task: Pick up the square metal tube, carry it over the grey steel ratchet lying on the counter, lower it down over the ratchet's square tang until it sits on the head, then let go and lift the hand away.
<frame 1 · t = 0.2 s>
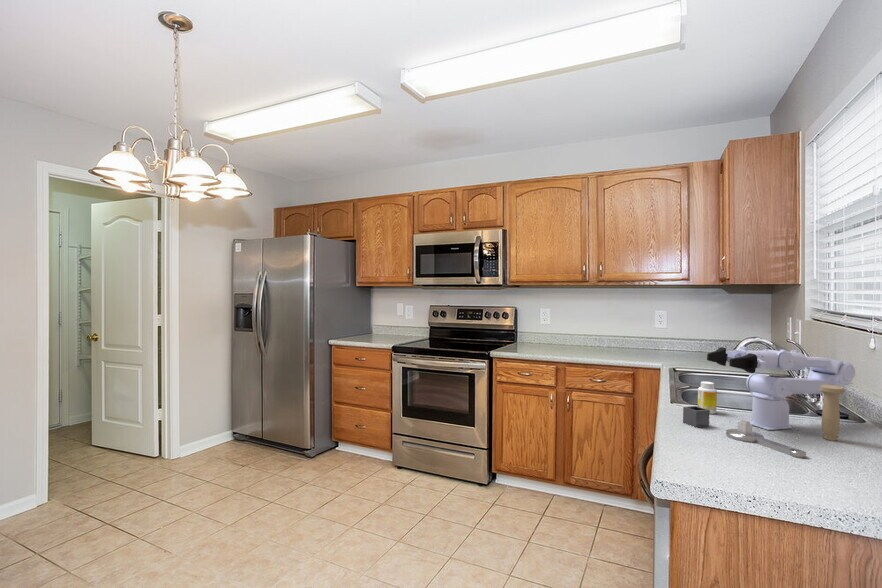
hand: (719, 359, 133), 21 cm above the countertop, tool horizontal, fingers open, 7 cm apart
handle: (830, 440, 127), on the countertop
supplement bottle: (706, 412, 154), on the countertop
ratchet: (744, 437, 127), on the countertop
square metal tube: (695, 424, 139), on the countertop
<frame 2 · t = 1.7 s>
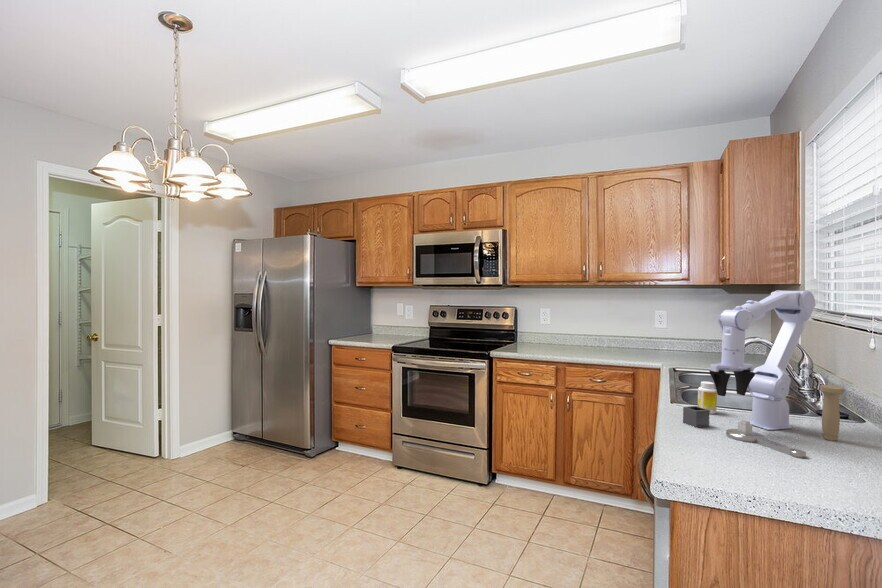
hand: (731, 395, 134), 10 cm above the countertop, tool pointing down, fingers open, 7 cm apart
nothing on the countertop moved.
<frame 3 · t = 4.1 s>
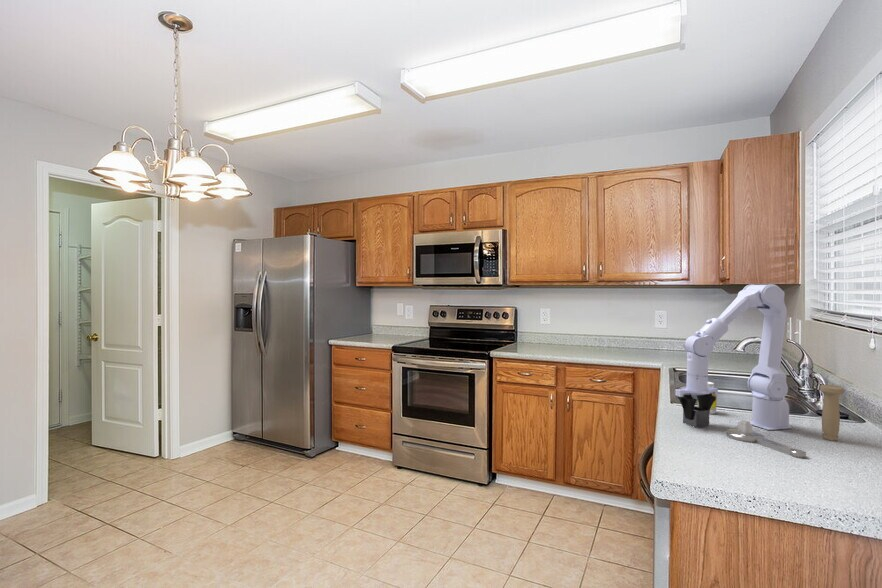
hand: (695, 418, 139), 2 cm above the countertop, tool pointing down, fingers closed on square metal tube, 5 cm apart
square metal tube: (695, 424, 139), on the countertop, touching gripper
everything else where it was.
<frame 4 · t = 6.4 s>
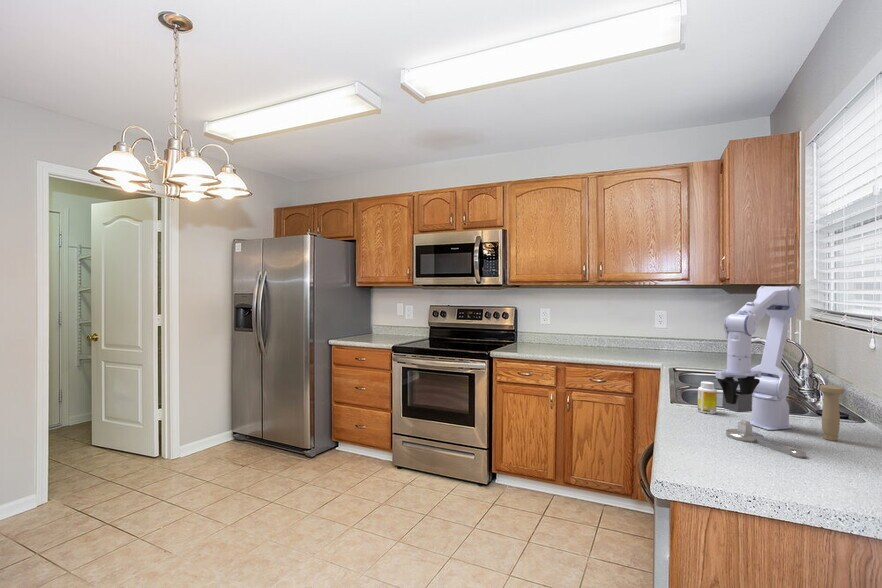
hand: (737, 402, 129), 9 cm above the countertop, tool pointing down, fingers closed on square metal tube, 5 cm apart
square metal tube: (736, 409, 129), point 7 cm above the countertop, touching gripper
everything else where it was.
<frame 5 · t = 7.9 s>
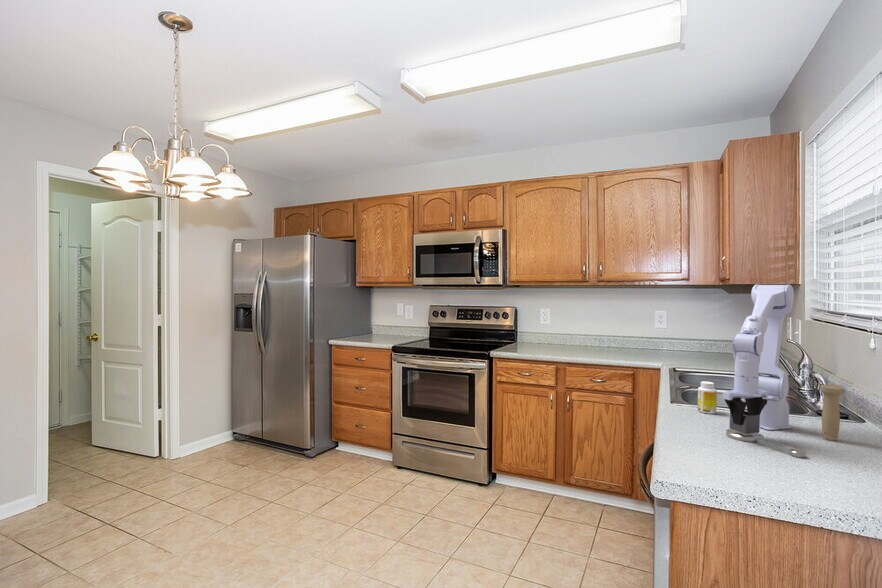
hand: (745, 423, 127), 4 cm above the countertop, tool pointing down, fingers closed on square metal tube, 5 cm apart
square metal tube: (744, 430, 127), point 2 cm above the countertop, touching gripper
everything else where it was.
when the fingers open (3 cm above the countertop, at t = 9.0 s): square metal tube stays where it is, resting on ratchet.
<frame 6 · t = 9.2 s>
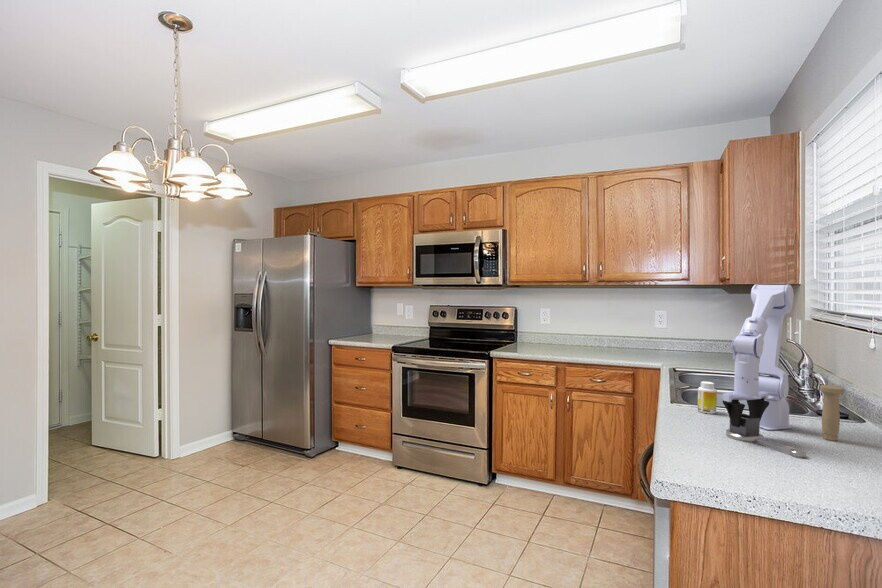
hand: (745, 425, 127), 3 cm above the countertop, tool pointing down, fingers open, 6 cm apart
square metal tube: (744, 433, 127), point 1 cm above the countertop, touching ratchet
everything else where it was.
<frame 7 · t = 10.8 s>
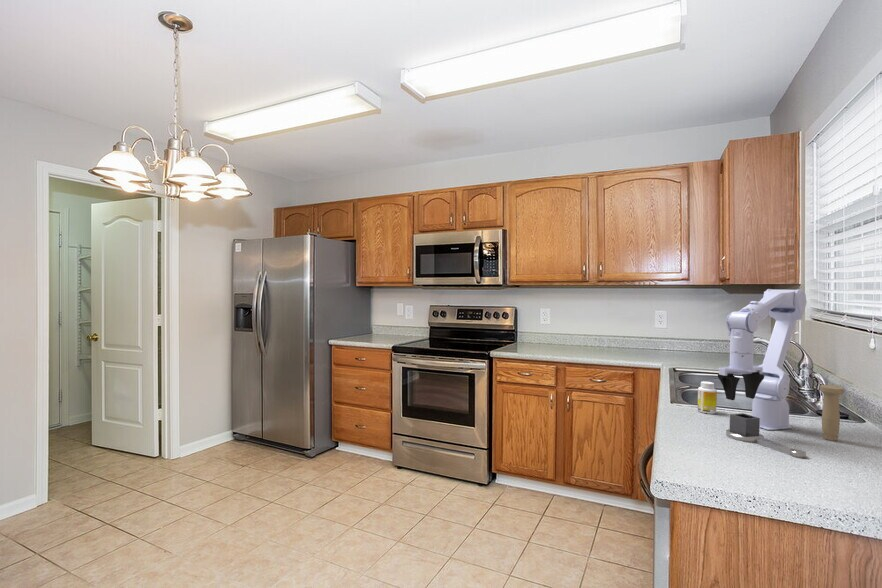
hand: (740, 398, 131), 10 cm above the countertop, tool pointing down, fingers open, 7 cm apart
nothing on the countertop moved.
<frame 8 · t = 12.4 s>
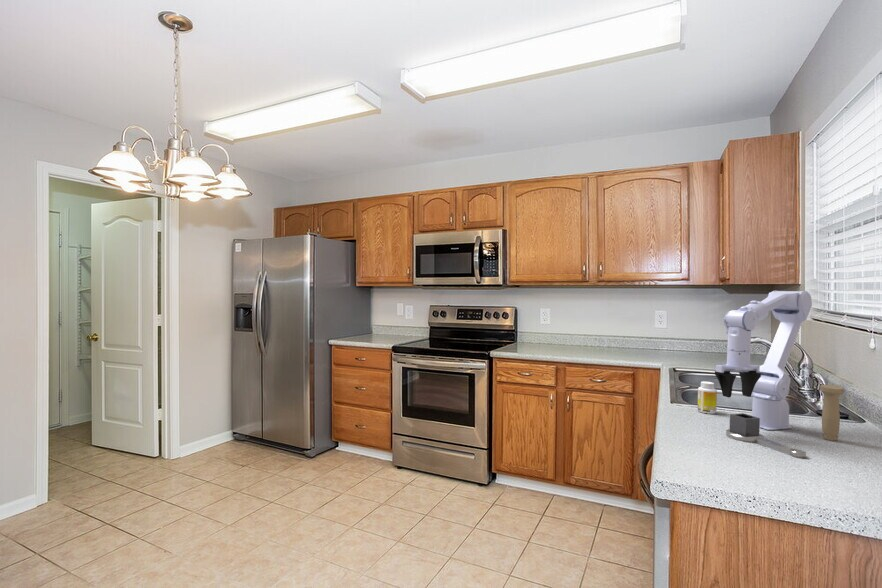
hand: (736, 396, 132), 10 cm above the countertop, tool pointing down, fingers open, 7 cm apart
nothing on the countertop moved.
at the end: square metal tube 0.2 cm off-centre on the ratchet, point 1.0 cm above the ratchet's base; square metal tube tilted 0°; the gripper is holding nothing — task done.
